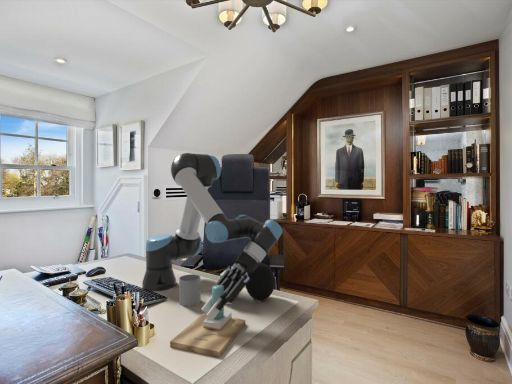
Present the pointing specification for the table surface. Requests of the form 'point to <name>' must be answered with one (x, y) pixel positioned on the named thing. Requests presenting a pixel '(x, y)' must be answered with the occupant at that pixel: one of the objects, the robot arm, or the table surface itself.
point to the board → (207, 337)
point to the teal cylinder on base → (222, 316)
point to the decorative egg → (261, 282)
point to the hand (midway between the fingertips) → (207, 314)
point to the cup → (189, 290)
